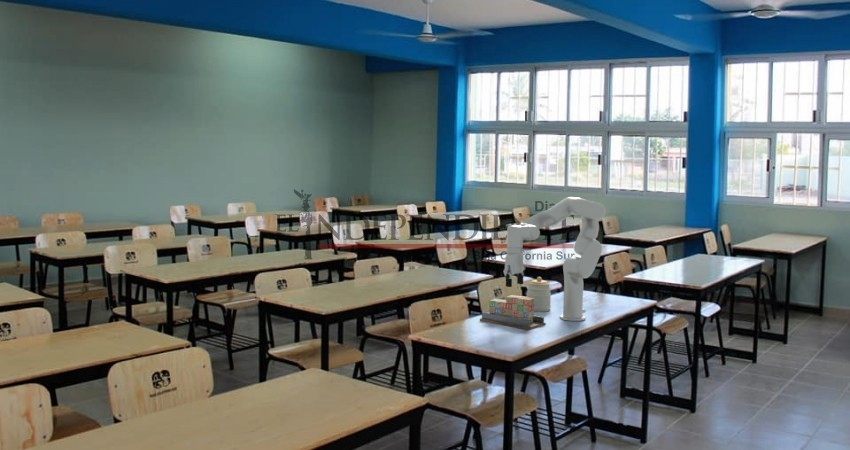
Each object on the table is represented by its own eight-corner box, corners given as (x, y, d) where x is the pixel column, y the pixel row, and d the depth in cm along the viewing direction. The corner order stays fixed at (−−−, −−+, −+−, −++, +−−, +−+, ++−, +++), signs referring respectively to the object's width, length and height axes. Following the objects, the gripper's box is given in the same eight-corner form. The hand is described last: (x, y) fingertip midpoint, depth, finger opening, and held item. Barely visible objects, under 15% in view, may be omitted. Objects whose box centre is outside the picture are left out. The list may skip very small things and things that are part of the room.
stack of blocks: (488, 318, 375) (489, 294, 374) (494, 316, 380) (495, 292, 379) (528, 324, 363) (529, 299, 362) (533, 322, 368) (534, 297, 367)
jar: (551, 307, 410) (552, 275, 408) (549, 312, 397) (550, 279, 396) (527, 306, 413) (528, 274, 411) (524, 310, 400) (525, 277, 399)
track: (498, 315, 387) (499, 308, 386) (545, 324, 368) (545, 316, 368) (479, 320, 375) (480, 312, 374) (527, 330, 356) (527, 321, 356)
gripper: (518, 248, 377) (518, 282, 379) (498, 251, 364) (497, 286, 366) (531, 249, 372) (530, 283, 374) (510, 253, 359) (510, 288, 361)
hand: (514, 285), depth 370 cm, fingers open, 9 cm apart
